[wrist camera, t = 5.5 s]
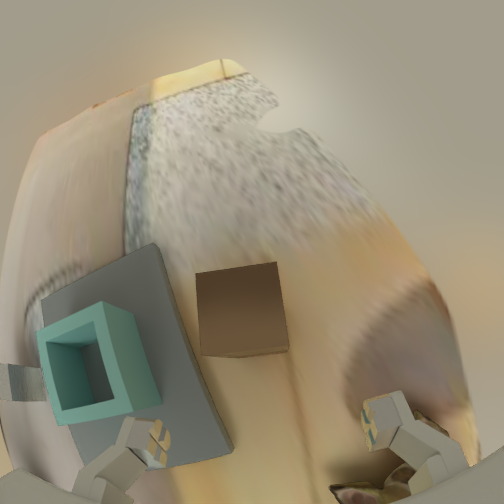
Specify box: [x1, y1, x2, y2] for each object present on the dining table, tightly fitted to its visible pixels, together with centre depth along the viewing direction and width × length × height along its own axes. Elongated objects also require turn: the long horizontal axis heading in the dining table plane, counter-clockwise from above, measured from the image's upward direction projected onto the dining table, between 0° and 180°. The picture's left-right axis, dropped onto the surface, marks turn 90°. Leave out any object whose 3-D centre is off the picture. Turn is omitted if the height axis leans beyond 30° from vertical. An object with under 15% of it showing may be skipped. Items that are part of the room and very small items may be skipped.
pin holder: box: [36, 243, 234, 471], centre depth 20 cm, size 20×16×6 cm
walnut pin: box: [195, 262, 289, 358], centre depth 18 cm, size 4×4×11 cm
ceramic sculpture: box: [328, 410, 450, 504], centre depth 12 cm, size 11×9×15 cm
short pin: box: [0, 364, 46, 401], centre depth 20 cm, size 4×4×6 cm
